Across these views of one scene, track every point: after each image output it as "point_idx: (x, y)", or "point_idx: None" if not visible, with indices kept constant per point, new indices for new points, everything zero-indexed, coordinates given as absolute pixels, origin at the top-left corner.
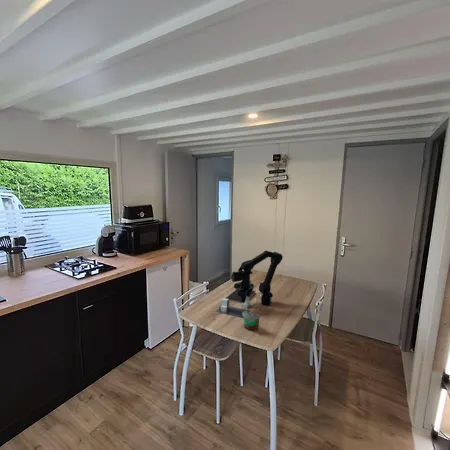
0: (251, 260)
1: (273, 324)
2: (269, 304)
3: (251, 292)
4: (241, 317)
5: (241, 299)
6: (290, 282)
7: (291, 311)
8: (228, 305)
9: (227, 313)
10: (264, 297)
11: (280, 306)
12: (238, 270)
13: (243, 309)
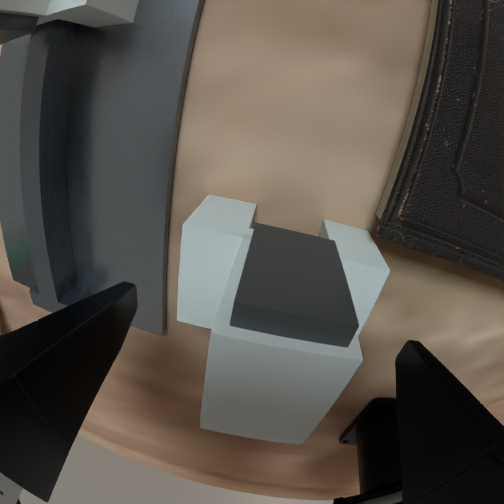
0: None
1: (86, 416)
2: (351, 442)
3: None
4: (8, 248)
5: (480, 179)
6: None
7: (271, 485)
8: (3, 40)
9: (10, 76)
10: (373, 478)
11: (332, 467)
12: None
13: (151, 243)
